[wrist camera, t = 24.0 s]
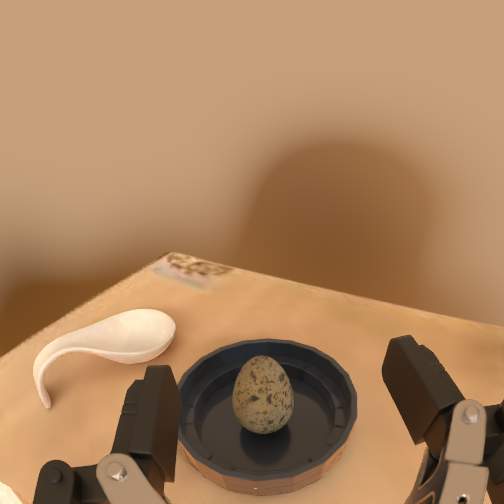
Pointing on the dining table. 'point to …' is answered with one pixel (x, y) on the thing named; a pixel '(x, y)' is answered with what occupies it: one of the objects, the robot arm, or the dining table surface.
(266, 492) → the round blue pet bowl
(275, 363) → the decorative egg
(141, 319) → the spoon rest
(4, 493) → the foam cup
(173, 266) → the dining table surface
